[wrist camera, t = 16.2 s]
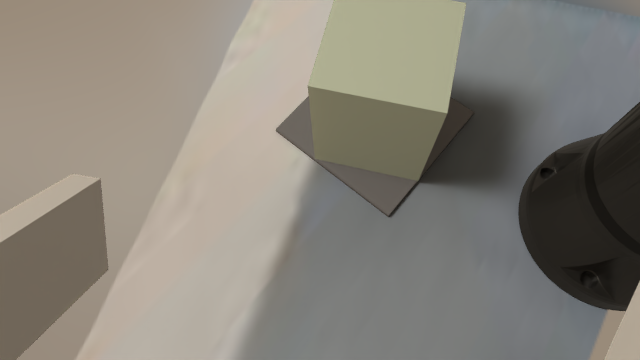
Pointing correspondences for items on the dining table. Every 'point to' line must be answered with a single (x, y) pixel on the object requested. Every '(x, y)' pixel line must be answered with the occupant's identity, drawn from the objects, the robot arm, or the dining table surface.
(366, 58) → the sage green cube
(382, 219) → the dining table surface
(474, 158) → the dining table surface
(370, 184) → the mat
